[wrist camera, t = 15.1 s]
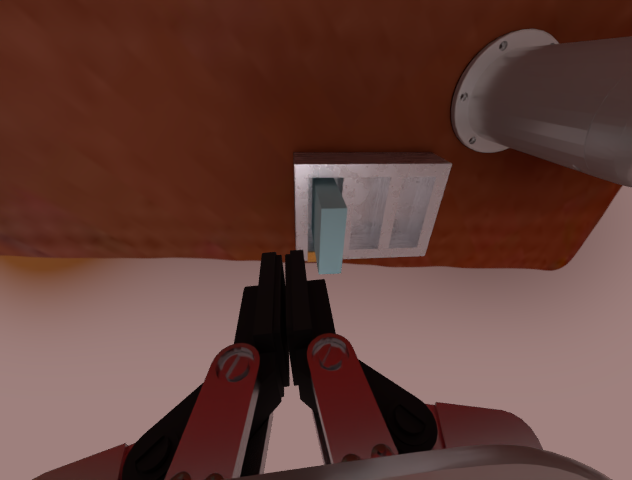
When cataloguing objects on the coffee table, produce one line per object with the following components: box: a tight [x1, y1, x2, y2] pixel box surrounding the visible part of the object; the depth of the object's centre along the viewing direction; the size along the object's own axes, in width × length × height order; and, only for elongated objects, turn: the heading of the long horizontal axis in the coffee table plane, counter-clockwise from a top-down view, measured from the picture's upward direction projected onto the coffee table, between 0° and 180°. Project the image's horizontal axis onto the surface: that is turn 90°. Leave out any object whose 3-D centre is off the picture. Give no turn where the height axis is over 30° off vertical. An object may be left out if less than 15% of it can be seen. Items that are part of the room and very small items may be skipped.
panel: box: [311, 178, 347, 274], centre depth 31 cm, size 2×8×10 cm, turn 178°
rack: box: [293, 152, 452, 262], centre depth 35 cm, size 18×13×5 cm
